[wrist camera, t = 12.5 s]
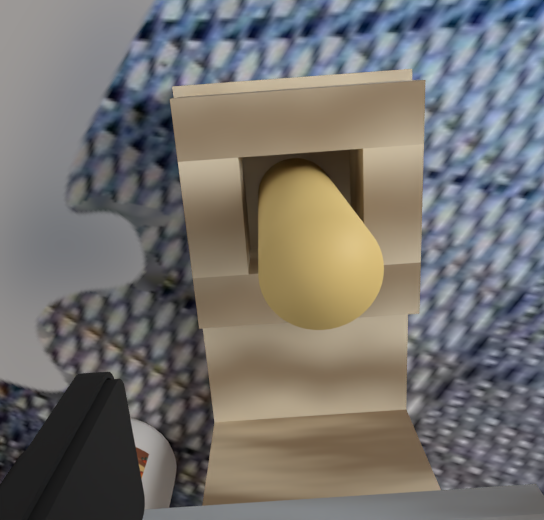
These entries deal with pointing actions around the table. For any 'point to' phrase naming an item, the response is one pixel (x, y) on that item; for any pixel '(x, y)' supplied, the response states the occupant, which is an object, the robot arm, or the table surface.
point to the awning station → (304, 342)
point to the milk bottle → (154, 464)
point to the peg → (313, 249)
